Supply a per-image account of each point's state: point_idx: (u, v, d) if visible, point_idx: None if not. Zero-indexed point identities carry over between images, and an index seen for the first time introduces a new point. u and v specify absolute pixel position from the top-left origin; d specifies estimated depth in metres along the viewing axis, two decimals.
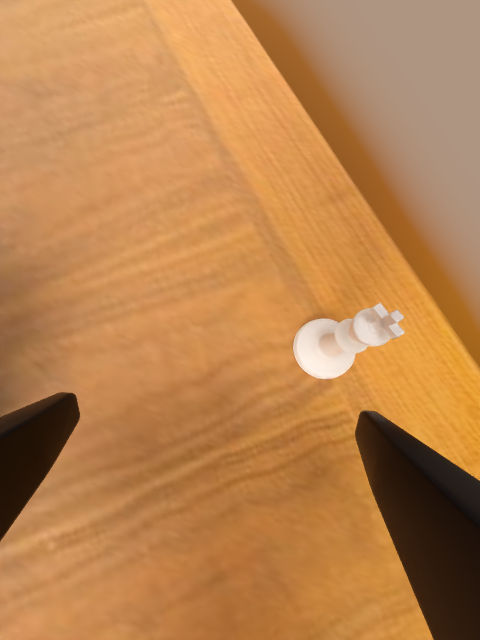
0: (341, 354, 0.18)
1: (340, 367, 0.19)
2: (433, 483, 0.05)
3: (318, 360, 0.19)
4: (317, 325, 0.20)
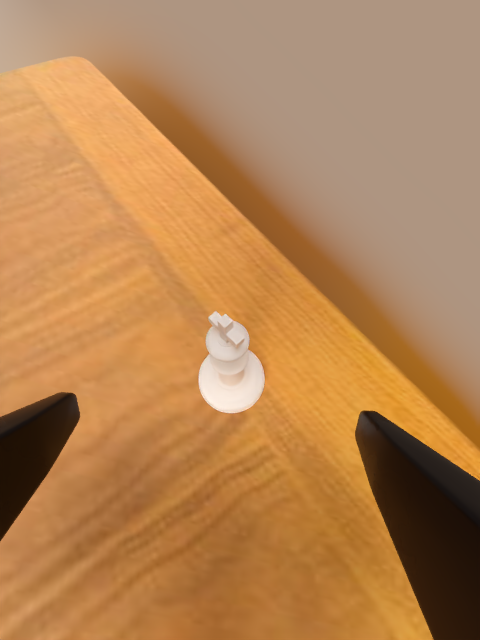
0: (244, 380, 0.17)
1: (248, 395, 0.17)
2: (433, 483, 0.05)
3: (222, 392, 0.17)
4: None
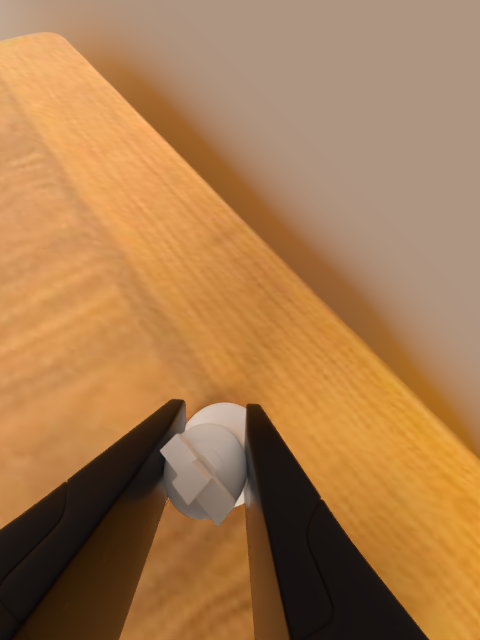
0: None
1: None
2: (256, 471, 0.05)
3: None
4: (205, 418, 0.13)
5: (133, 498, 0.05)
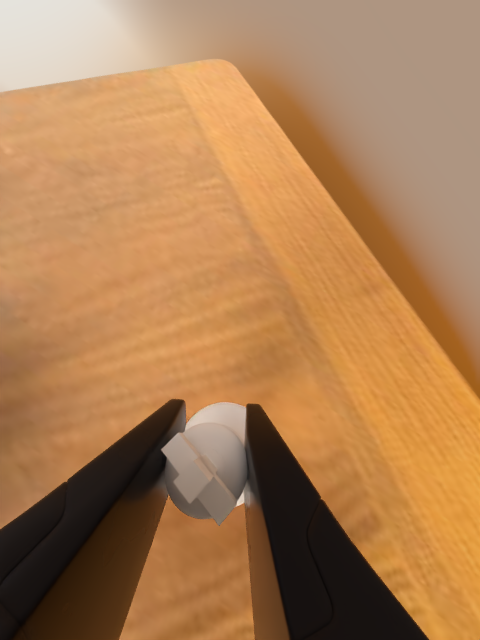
0: None
1: None
2: (256, 471, 0.05)
3: None
4: (205, 418, 0.13)
5: (133, 498, 0.05)
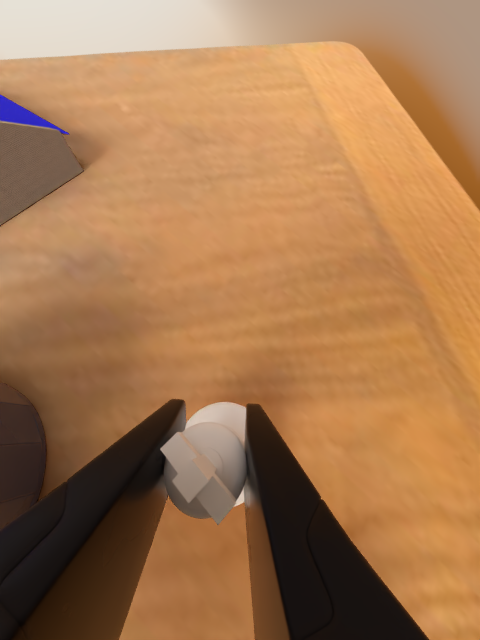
0: None
1: None
2: (256, 471, 0.05)
3: None
4: (205, 417, 0.13)
5: (133, 498, 0.05)
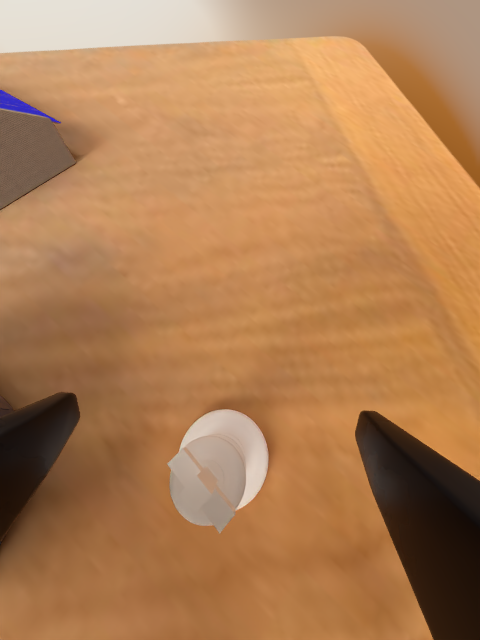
0: None
1: (246, 489, 0.12)
2: (433, 483, 0.05)
3: None
4: (205, 425, 0.13)
5: None
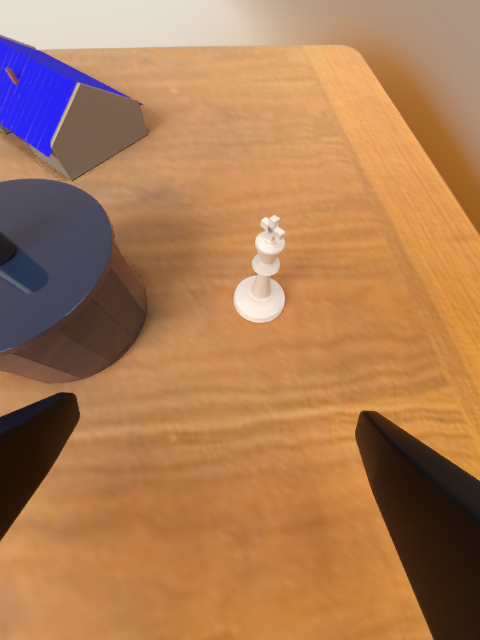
0: (270, 296, 0.22)
1: (273, 308, 0.22)
2: (433, 483, 0.05)
3: (253, 305, 0.22)
4: (249, 280, 0.24)
5: None
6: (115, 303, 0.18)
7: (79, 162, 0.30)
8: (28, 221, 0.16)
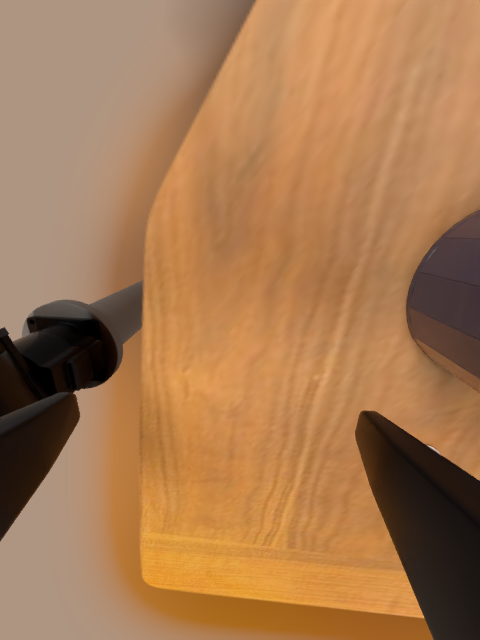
0: None
1: None
2: (433, 483, 0.05)
3: None
4: None
5: None
6: None
7: None
8: None
